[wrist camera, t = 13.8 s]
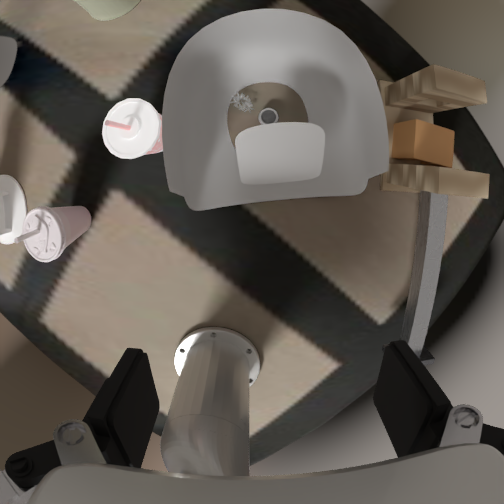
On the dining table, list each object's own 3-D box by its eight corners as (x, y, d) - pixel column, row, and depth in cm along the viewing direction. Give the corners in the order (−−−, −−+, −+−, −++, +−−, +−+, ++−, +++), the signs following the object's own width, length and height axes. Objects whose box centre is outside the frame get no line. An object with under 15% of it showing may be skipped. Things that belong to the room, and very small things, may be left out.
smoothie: (93, 191, 37) (29, 207, 23) (104, 237, 38) (46, 271, 25) (58, 201, 37) (-8, 222, 23) (68, 245, 39) (8, 279, 25)
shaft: (418, 344, 38) (433, 363, 34) (381, 349, 38) (395, 370, 34) (442, 185, 32) (465, 190, 27) (402, 182, 32) (424, 186, 27)
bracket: (429, 192, 37) (490, 208, 24) (380, 189, 37) (433, 204, 24) (428, 91, 33) (486, 73, 20) (377, 81, 33) (428, 53, 20)
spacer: (427, 165, 35) (451, 167, 29) (391, 157, 35) (413, 158, 29) (429, 133, 34) (454, 131, 28) (393, 123, 34) (416, 119, 28)
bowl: (337, 49, 32) (368, 11, 20) (354, 193, 37) (395, 207, 26) (179, 61, 32) (151, 26, 21) (195, 209, 38) (172, 229, 26)
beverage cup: (127, 152, 35) (68, 150, 22) (142, 106, 34) (89, 82, 20) (171, 164, 36) (127, 167, 22) (186, 117, 34) (151, 94, 21)
